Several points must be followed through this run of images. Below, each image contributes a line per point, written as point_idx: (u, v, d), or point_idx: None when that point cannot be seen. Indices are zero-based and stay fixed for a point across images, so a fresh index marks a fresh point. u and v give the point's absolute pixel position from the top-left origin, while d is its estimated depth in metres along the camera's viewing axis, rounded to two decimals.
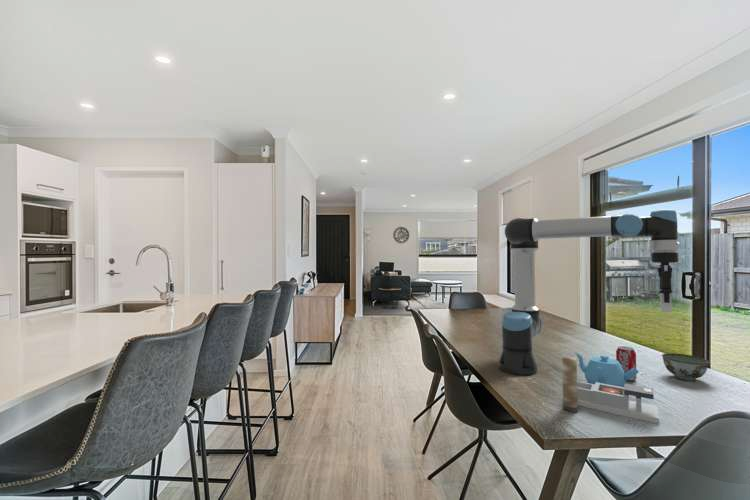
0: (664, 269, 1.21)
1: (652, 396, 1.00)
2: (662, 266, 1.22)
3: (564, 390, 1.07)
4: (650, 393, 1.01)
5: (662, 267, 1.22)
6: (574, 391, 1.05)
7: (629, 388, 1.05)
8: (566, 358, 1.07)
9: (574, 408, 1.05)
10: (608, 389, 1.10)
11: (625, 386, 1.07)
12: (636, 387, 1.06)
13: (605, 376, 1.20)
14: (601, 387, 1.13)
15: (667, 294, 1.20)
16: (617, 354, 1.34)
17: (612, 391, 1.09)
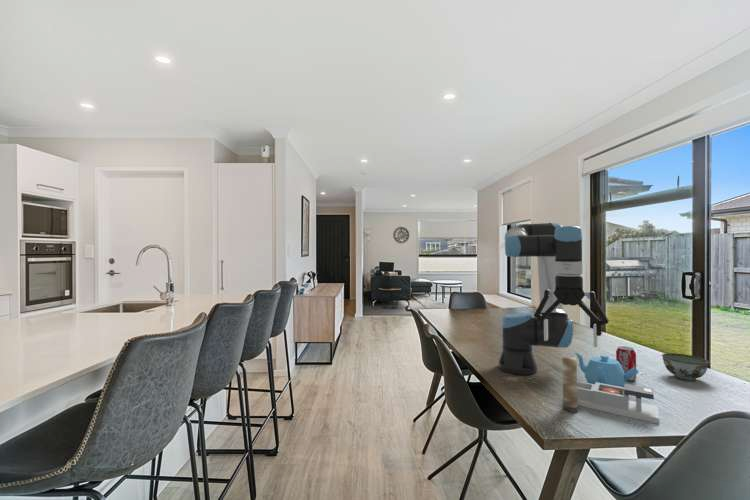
0: None
1: (652, 396, 1.00)
2: None
3: (564, 390, 1.07)
4: (650, 393, 1.01)
5: None
6: (574, 391, 1.05)
7: (629, 388, 1.05)
8: (566, 358, 1.07)
9: (574, 408, 1.05)
10: (608, 389, 1.10)
11: (625, 386, 1.07)
12: (636, 387, 1.06)
13: (605, 376, 1.20)
14: (601, 387, 1.13)
15: None
16: (617, 354, 1.34)
17: (612, 391, 1.09)
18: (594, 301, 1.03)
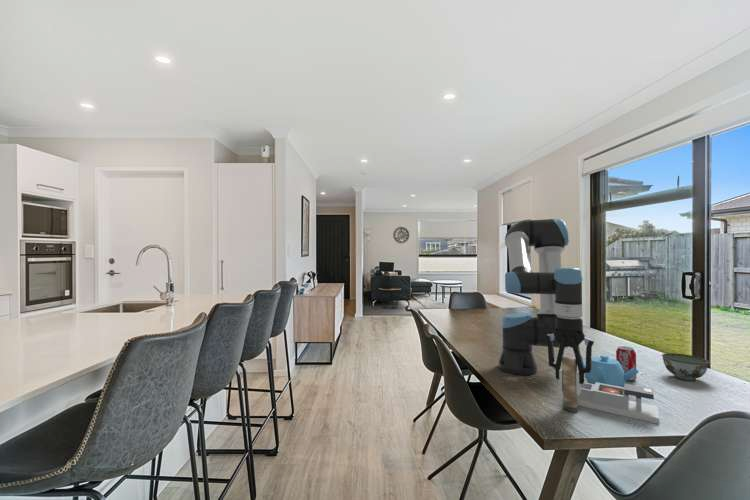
0: None
1: (652, 396, 1.00)
2: None
3: (564, 390, 1.07)
4: (650, 393, 1.01)
5: None
6: (574, 391, 1.05)
7: (629, 388, 1.05)
8: (566, 358, 1.07)
9: (574, 408, 1.05)
10: (608, 389, 1.10)
11: (625, 386, 1.07)
12: (636, 387, 1.06)
13: (605, 376, 1.20)
14: (601, 387, 1.13)
15: None
16: (617, 354, 1.34)
17: (612, 391, 1.09)
18: (589, 349, 1.03)
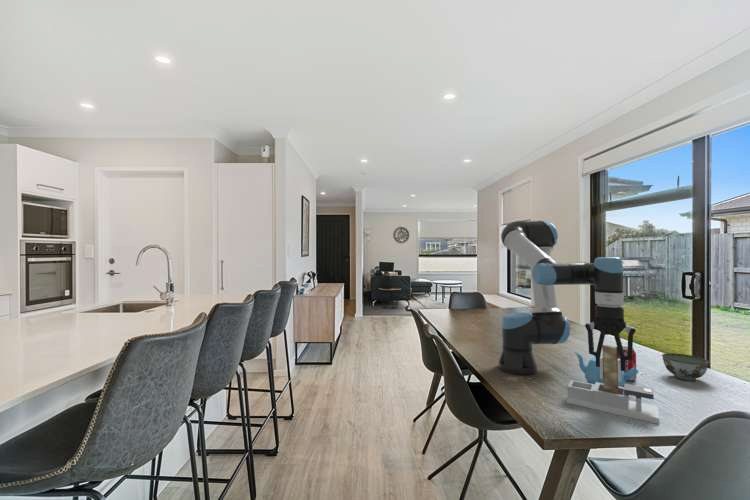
0: None
1: (652, 396, 1.00)
2: None
3: (605, 378, 1.09)
4: (650, 393, 1.01)
5: None
6: (615, 379, 1.07)
7: (629, 388, 1.05)
8: (607, 346, 1.09)
9: None
10: None
11: (625, 386, 1.07)
12: (636, 387, 1.06)
13: None
14: (601, 387, 1.13)
15: None
16: None
17: None
18: (631, 337, 1.05)
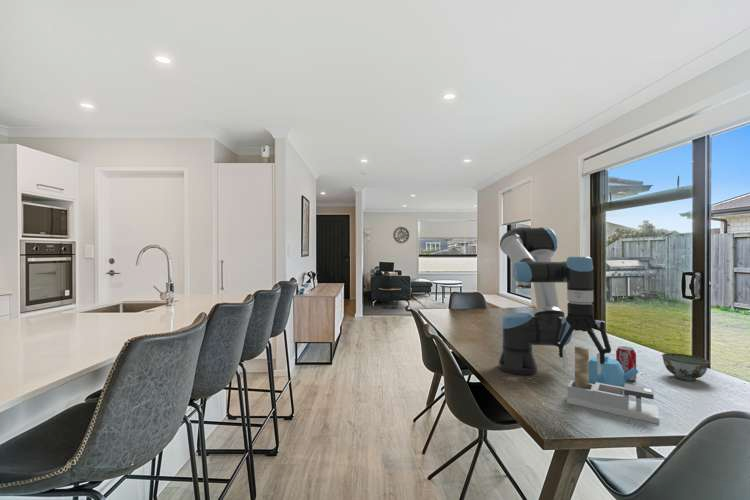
0: None
1: (652, 396, 1.00)
2: None
3: (576, 377, 1.13)
4: (650, 393, 1.01)
5: None
6: (585, 378, 1.12)
7: (629, 388, 1.05)
8: (578, 347, 1.14)
9: None
10: None
11: (625, 386, 1.07)
12: (636, 387, 1.06)
13: (605, 376, 1.20)
14: (601, 387, 1.13)
15: None
16: (617, 354, 1.34)
17: None
18: (603, 330, 1.09)
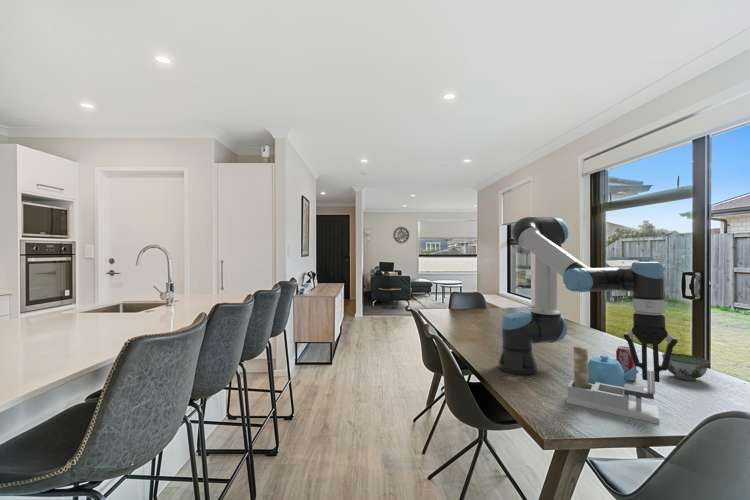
0: (626, 338, 1.07)
1: (652, 396, 1.00)
2: None
3: (576, 377, 1.13)
4: (650, 393, 1.01)
5: None
6: (585, 378, 1.12)
7: (629, 388, 1.05)
8: (577, 347, 1.14)
9: None
10: None
11: (625, 386, 1.07)
12: (636, 387, 1.06)
13: (605, 376, 1.20)
14: (601, 387, 1.13)
15: (642, 369, 1.04)
16: (617, 354, 1.34)
17: None
18: (671, 348, 0.99)
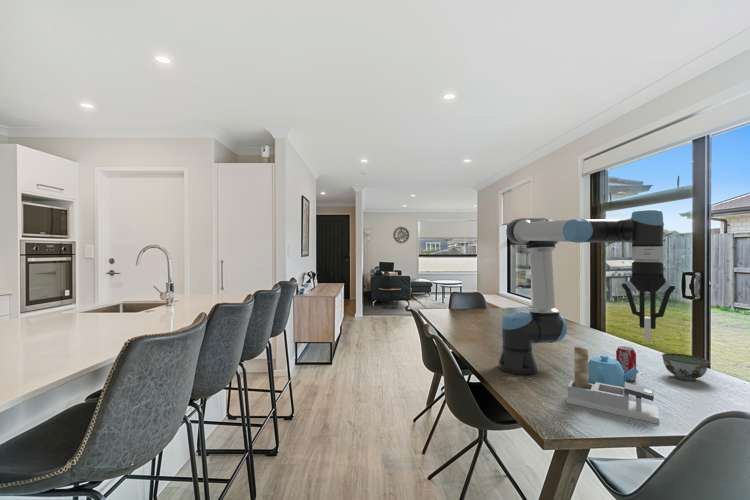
0: None
1: (652, 397, 1.00)
2: None
3: (576, 377, 1.13)
4: (650, 394, 1.01)
5: None
6: (585, 378, 1.12)
7: (629, 387, 1.05)
8: (578, 347, 1.14)
9: None
10: None
11: (625, 385, 1.07)
12: (636, 387, 1.06)
13: (605, 376, 1.20)
14: (601, 387, 1.13)
15: (639, 317, 1.05)
16: (617, 354, 1.34)
17: None
18: (668, 294, 1.00)
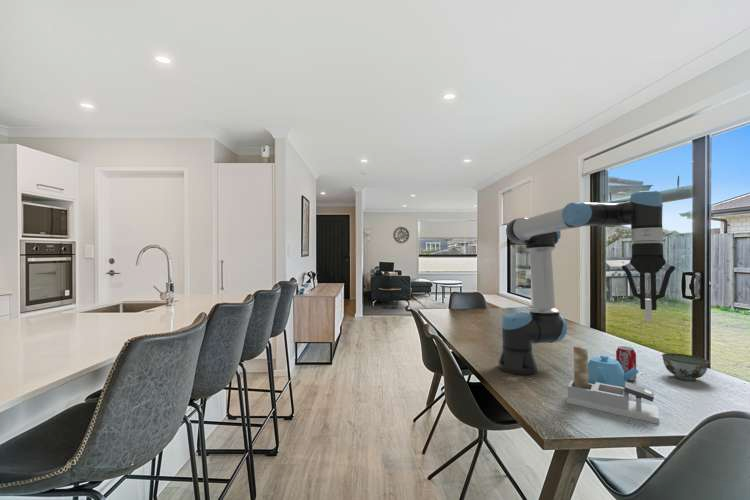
0: None
1: (652, 398, 1.00)
2: None
3: (576, 377, 1.13)
4: (650, 395, 1.01)
5: None
6: (585, 378, 1.12)
7: (629, 387, 1.05)
8: (577, 347, 1.14)
9: None
10: None
11: (626, 384, 1.07)
12: (637, 387, 1.06)
13: (605, 376, 1.20)
14: (601, 387, 1.13)
15: (640, 299, 1.04)
16: (617, 354, 1.34)
17: None
18: (668, 275, 1.00)
